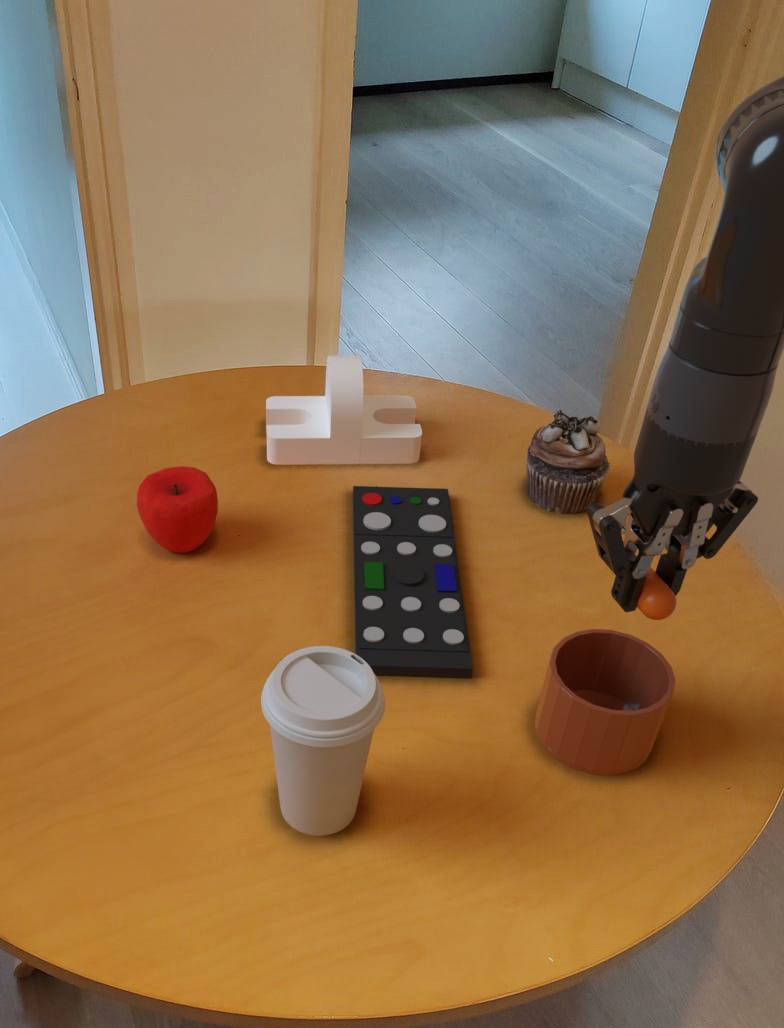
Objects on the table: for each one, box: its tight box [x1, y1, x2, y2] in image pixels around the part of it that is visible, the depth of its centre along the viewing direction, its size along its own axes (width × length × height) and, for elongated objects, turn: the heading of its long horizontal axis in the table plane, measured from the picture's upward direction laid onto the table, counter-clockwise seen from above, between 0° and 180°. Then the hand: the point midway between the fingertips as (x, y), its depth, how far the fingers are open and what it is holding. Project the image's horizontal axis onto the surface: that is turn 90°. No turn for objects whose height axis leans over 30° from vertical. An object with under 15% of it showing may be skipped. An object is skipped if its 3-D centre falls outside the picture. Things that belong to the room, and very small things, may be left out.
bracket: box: [265, 354, 423, 466], centre depth 126 cm, size 19×10×11 cm, turn 93°
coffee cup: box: [260, 645, 386, 837], centre depth 82 cm, size 10×10×15 cm
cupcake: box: [525, 409, 611, 515], centre depth 119 cm, size 10×10×10 cm
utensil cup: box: [534, 628, 676, 777], centre depth 91 cm, size 11×11×8 cm
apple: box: [136, 465, 219, 554], centre depth 111 cm, size 9×9×8 cm
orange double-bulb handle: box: [637, 566, 677, 621], centre depth 82 cm, size 8×3×3 cm
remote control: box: [352, 485, 474, 680], centre depth 109 cm, size 11×30×2 cm, turn 179°
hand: (642, 600), depth 82 cm, fingers closed on orange double-bulb handle, 2 cm apart
